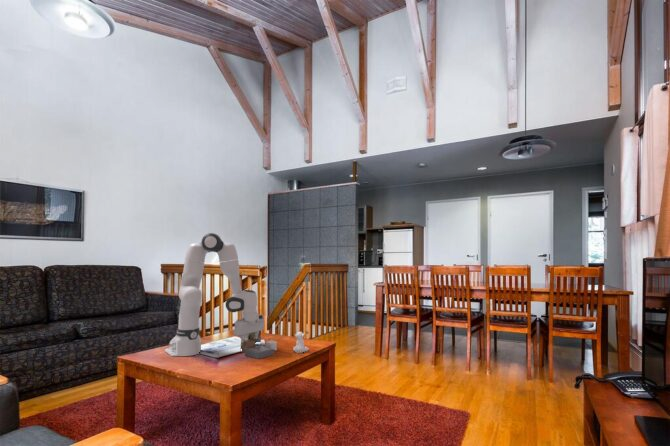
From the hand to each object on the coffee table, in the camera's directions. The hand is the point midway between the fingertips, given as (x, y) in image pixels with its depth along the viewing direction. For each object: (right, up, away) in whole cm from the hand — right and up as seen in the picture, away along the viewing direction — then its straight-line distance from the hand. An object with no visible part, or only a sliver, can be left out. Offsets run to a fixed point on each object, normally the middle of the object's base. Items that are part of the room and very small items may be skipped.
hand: (249, 340), depth 223 cm
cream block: (+12, -7, +2) cm, 14 cm away
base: (+8, -6, -8) cm, 12 cm away
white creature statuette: (+30, -7, -1) cm, 31 cm away
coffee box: (-2, -7, +14) cm, 16 cm away
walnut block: (-1, -6, -1) cm, 6 cm away
